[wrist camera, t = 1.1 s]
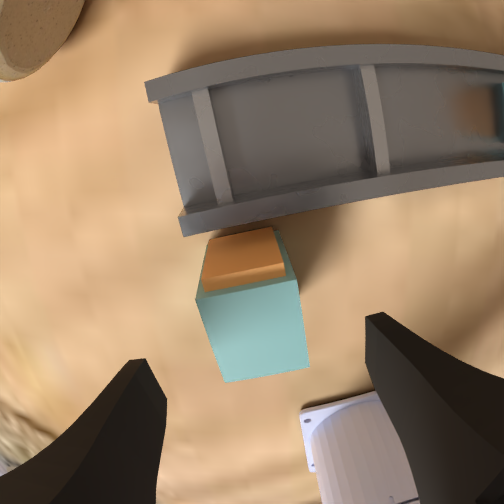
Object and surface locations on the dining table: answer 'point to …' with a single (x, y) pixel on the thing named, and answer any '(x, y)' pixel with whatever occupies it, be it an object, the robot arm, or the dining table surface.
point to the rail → (328, 128)
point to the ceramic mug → (33, 33)
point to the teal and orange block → (252, 306)
